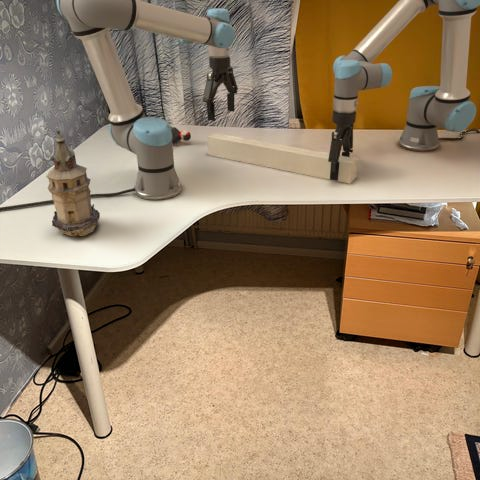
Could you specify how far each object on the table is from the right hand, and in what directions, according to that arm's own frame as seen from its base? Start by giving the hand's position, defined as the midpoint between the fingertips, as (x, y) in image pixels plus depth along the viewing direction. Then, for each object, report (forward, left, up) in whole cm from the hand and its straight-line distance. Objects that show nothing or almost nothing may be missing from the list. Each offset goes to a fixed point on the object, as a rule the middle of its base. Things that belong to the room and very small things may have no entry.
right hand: (339, 174), depth 185 cm
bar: (+7, -23, -1) cm, 24 cm away
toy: (+25, -75, -1) cm, 80 cm away
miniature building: (+84, -27, -1) cm, 89 cm away
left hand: (+15, -45, +14) cm, 50 cm away
